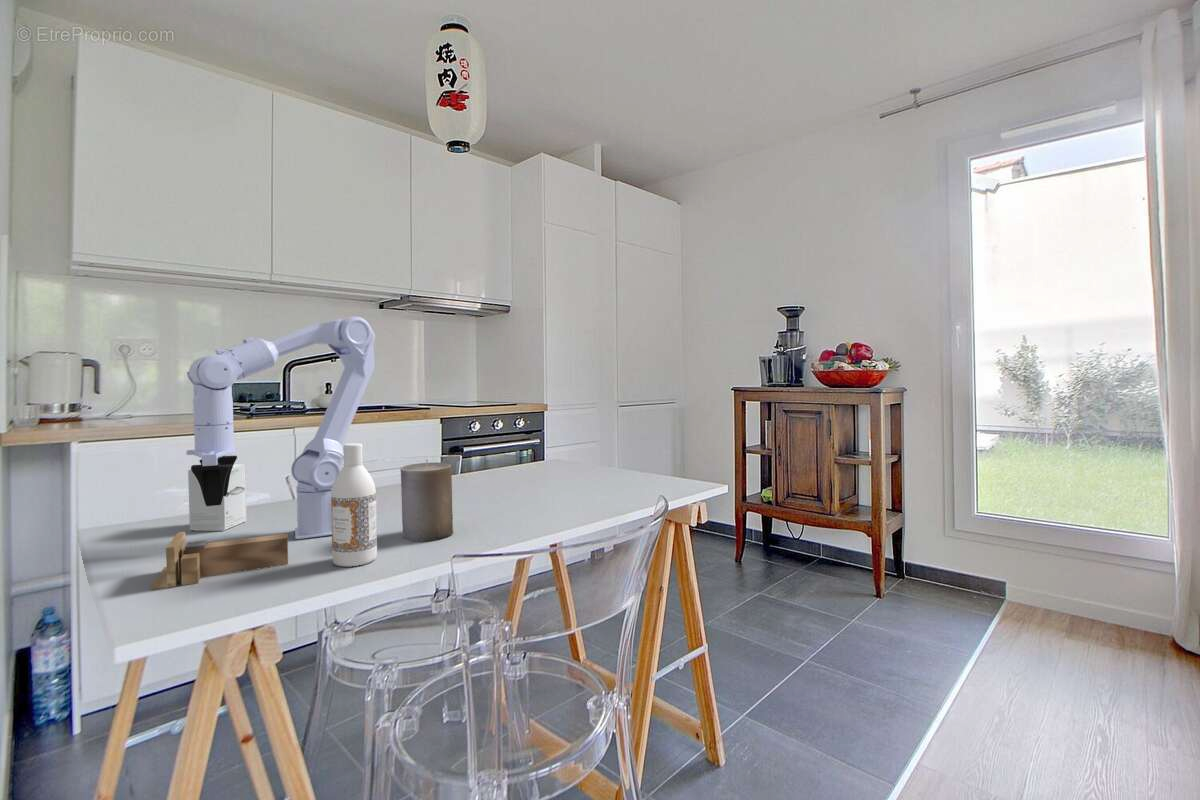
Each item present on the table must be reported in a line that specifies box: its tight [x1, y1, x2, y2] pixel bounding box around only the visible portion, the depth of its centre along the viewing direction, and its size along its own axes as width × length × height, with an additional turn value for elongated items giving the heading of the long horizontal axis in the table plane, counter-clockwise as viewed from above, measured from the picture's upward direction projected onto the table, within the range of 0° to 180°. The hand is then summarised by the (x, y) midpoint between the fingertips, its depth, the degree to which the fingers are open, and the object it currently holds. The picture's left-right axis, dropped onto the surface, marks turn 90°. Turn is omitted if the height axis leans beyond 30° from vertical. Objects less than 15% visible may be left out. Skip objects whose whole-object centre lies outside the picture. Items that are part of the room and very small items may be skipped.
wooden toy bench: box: [150, 531, 201, 591], centre depth 87 cm, size 6×9×6 cm, turn 29°
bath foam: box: [331, 442, 378, 568], centre depth 94 cm, size 7×7×20 cm
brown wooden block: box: [184, 533, 289, 578], centre depth 91 cm, size 14×3×5 cm, turn 119°
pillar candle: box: [399, 459, 454, 542], centre depth 110 cm, size 10×10×15 cm
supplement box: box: [187, 463, 247, 532], centre depth 116 cm, size 7×7×13 cm
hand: (216, 500), depth 98 cm, fingers open, 7 cm apart
